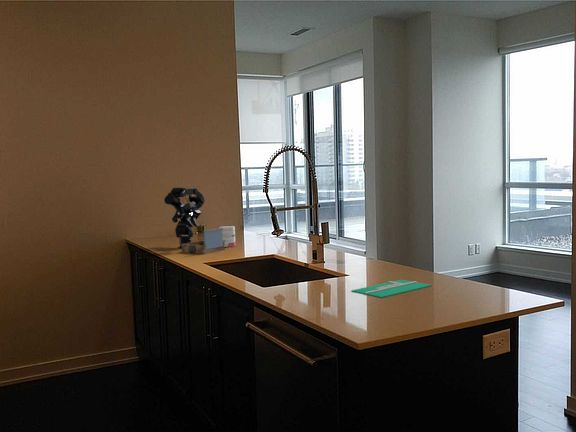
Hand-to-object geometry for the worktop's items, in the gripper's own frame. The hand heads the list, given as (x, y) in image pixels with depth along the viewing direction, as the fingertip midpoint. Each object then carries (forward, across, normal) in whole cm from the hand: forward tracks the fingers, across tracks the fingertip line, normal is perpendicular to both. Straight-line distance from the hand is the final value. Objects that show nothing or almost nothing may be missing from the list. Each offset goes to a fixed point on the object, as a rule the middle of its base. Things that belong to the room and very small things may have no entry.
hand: (194, 226), depth 336 cm
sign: (+112, -45, -92) cm, 151 cm away
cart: (+14, 0, +6) cm, 15 cm away
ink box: (+14, +20, +5) cm, 25 cm away
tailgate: (+18, 0, -2) cm, 19 cm away
